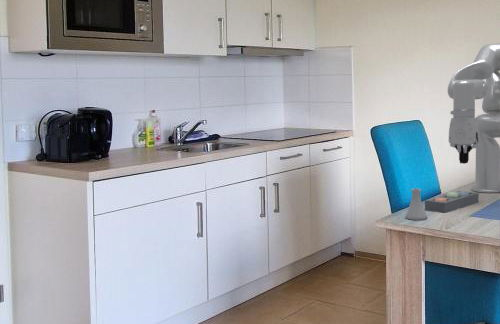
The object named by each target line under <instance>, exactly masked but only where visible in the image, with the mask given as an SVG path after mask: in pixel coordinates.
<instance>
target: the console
mask: <svg viewBox="0 0 500 324" xmlns="http://www.w3.org/2000/svg"><path fill="white" fill-rule="evenodd" d="M460 191H461V190H457V191H456V192H460ZM468 192H469V194H468V195H461V194H458V198H448V197H447V193H445V194H442V195H439V196H436V197H432V198H429V199H425V200H424V210H425V211H429V210H430V211H431V212H436V211H437V213H443V212H444V213H445V212H446V213H449V212H453V211H455V210H458V208H459V209H462V208H465V207H468V206H471V205H474V204H478V203H479V195H480V194H479V193H480V192H474V191H473V192H471V191H468ZM435 198H446V199H447V201H444V202H441V201H435ZM448 211H449V212H448Z"/></svg>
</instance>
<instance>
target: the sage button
mask: <svg viewBox="0 0 500 324" xmlns="http://www.w3.org/2000/svg"><path fill="white" fill-rule="evenodd" d="M446 194H447V197H448V198H458V192H457V191H447V192H446Z"/></svg>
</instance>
